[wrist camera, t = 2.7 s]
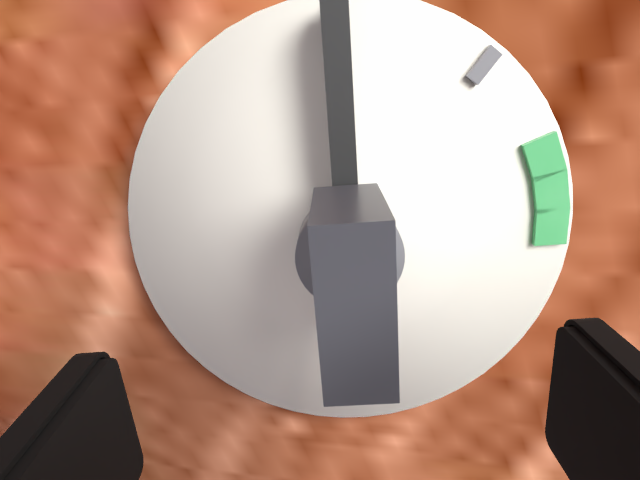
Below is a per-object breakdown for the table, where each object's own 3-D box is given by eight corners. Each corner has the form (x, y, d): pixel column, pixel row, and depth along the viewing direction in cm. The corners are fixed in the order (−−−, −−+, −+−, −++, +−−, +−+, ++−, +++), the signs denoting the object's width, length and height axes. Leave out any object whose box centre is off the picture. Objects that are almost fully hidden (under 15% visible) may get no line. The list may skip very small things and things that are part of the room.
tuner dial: (571, 358, 24) (590, 379, 22) (218, 428, 26) (210, 452, 24) (534, -65, 18) (556, -82, 16) (73, 70, 20) (48, 69, 18)
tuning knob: (399, 300, 21) (432, 401, 14) (304, 306, 21) (292, 408, 14) (392, -3, 17) (434, -64, 10) (274, 8, 17) (238, -44, 10)
